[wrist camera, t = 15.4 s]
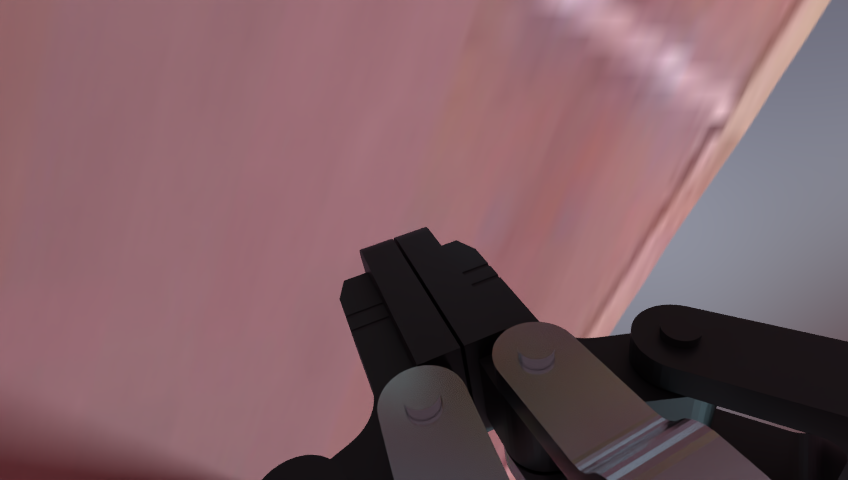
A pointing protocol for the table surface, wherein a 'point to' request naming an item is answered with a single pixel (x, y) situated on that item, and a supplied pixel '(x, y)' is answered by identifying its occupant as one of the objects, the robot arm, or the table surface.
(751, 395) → the robot arm
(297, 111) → the table surface
